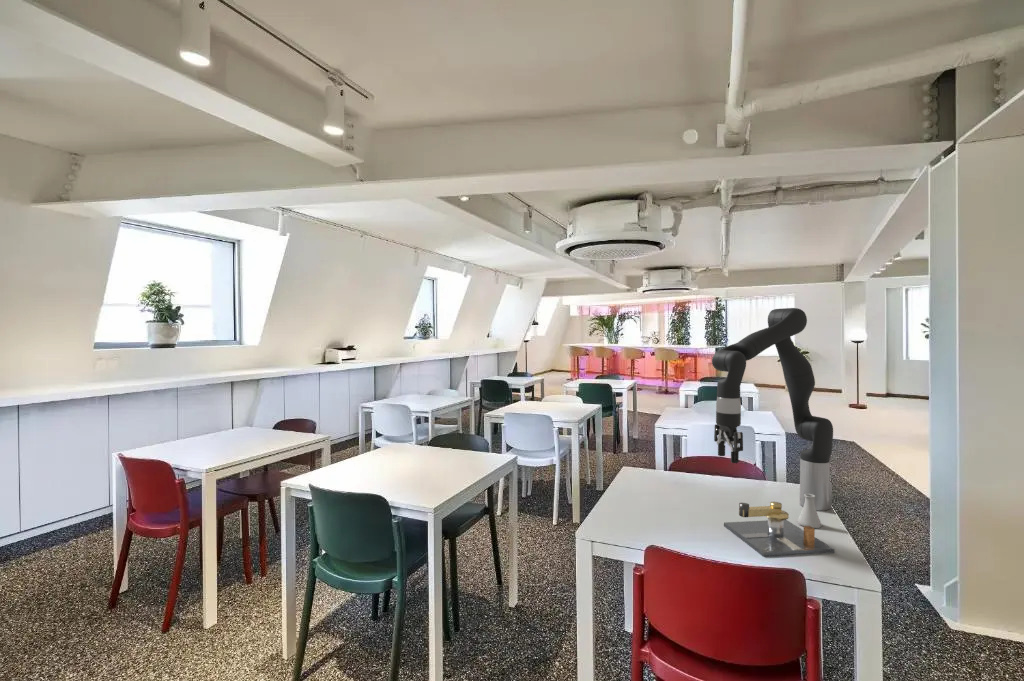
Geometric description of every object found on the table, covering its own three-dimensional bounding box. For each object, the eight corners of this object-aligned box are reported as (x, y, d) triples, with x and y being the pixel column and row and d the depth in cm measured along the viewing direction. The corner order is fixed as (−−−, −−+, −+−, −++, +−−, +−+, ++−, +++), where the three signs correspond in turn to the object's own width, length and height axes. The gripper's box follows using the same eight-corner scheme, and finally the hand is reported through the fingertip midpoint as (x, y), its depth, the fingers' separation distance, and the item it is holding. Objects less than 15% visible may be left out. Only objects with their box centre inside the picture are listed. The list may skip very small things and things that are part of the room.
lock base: (785, 523, 169) (786, 502, 168) (834, 552, 147) (834, 529, 146) (723, 526, 166) (724, 505, 166) (763, 556, 144) (763, 533, 144)
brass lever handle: (779, 511, 160) (779, 498, 160) (793, 519, 153) (793, 506, 153) (733, 513, 159) (733, 500, 158) (746, 521, 152) (746, 508, 151)
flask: (821, 530, 162) (822, 500, 162) (796, 526, 166) (796, 496, 166) (821, 523, 168) (822, 493, 168) (797, 518, 172) (797, 490, 172)
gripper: (751, 414, 158) (750, 465, 159) (728, 407, 172) (727, 453, 173) (728, 414, 158) (727, 465, 158) (707, 407, 172) (706, 454, 172)
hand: (727, 459), depth 165 cm, fingers open, 8 cm apart
